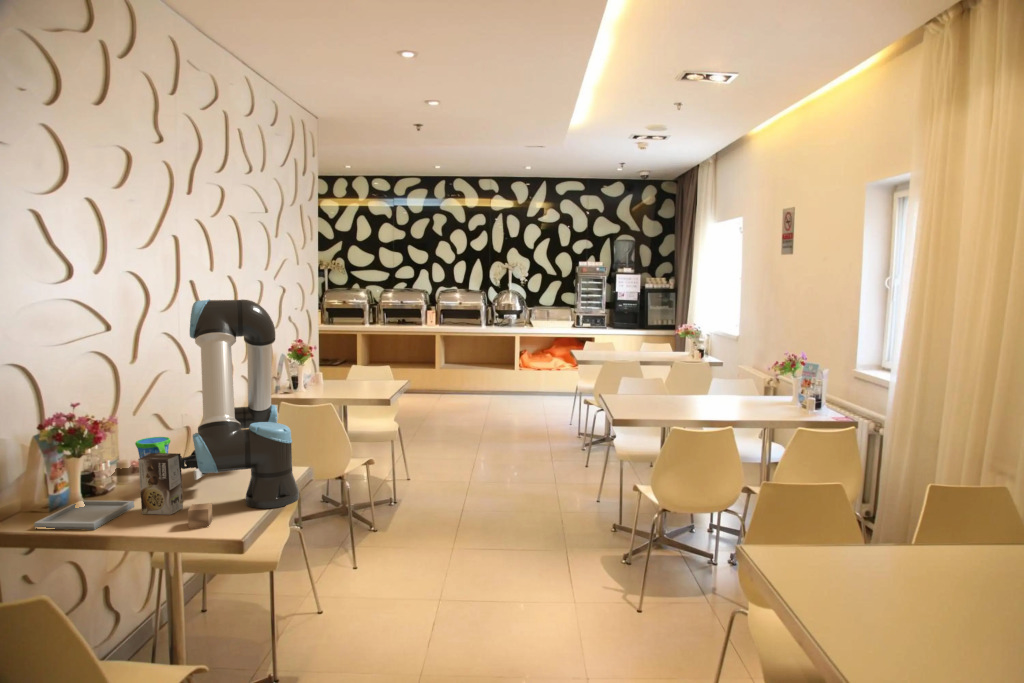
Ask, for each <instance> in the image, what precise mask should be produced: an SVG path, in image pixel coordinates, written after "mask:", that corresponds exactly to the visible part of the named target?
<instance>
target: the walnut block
mask: <svg viewBox="0 0 1024 683" xmlns="http://www.w3.org/2000/svg"><path fill="white" fill-rule="evenodd" d="M187 519H188V520H187V522H188V523H187V525H188V529H189V528H191V529H196V528H195V527H203V528H208V527H207V526H209V525H210V526H211V524H212V522H213V521H214V520H213V503H212V502H211V503H207V502H206V503H197V504H196V503H194V504H191V505H190V507H189V508H188V510H187ZM212 520H213V521H212ZM210 526H209V527H210Z"/></svg>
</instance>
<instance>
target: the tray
mask: <svg viewBox="0 0 1024 683" xmlns="http://www.w3.org/2000/svg"><path fill="white" fill-rule="evenodd" d="M82 500H83V502H84V504H85V506H84V507H79V508H75V505H76V504H73V503H72V504H69V505H67V506H65V507H64V508H62V509H61V508H60V509H59V510H58V511H55V512H54V513H51V514H49V515H47V516H45V517H43V518H41V519H39V520H36V521H35V522H33V523H34V525H33V526H34V528H35V527H46V528H55V529H87V530H86V531H96V530H97V529H98V527H99V528H101V527H102V526H104V525H106V524H107V523H109V522H111V521H113V520H114V519H116V518H118V517H119V516H121V515H122V514H125V513H126V512H128V511H129V510H132V509H133V508H135V501H134V500H94V499H93V500H92V499H91V500H89V499H88V500H85V499H82ZM112 519H113V520H112ZM110 520H111V521H110ZM108 521H109V522H108ZM106 522H107V523H106ZM105 523H106V524H105ZM103 524H104V525H103ZM101 525H102V526H101ZM96 528H97V529H96Z"/></svg>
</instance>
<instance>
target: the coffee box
mask: <svg viewBox="0 0 1024 683" xmlns="http://www.w3.org/2000/svg"><path fill="white" fill-rule="evenodd" d="M181 456H182V455H181V453H170V452H168V453H151V454H148V455H146V456H144V457H142V458H140V457H139V458H138V460H137V461H138V472H139V473H138V474H139V476H138V477H139V486H140V488H139V489H140V504H141V514H142V515H173V514H174V513H176V512H178V511H180V510H182V509H183V508H184V500H183V499H184V498H183V497H184V496H183V476H182V468H181Z"/></svg>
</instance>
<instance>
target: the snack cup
mask: <svg viewBox="0 0 1024 683" xmlns="http://www.w3.org/2000/svg"><path fill="white" fill-rule="evenodd" d="M134 444H135V447H136V448H137V451H138V456H139V457H138V458H139V459H140V458H142V457H144V456H146V455H148V454H151V453H169V446H170V444H171V439H170V437H168V436H167V437H166V436H153V437H146V438H142V439H139V440H138V439H137V440H136V441H135V443H134Z"/></svg>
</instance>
